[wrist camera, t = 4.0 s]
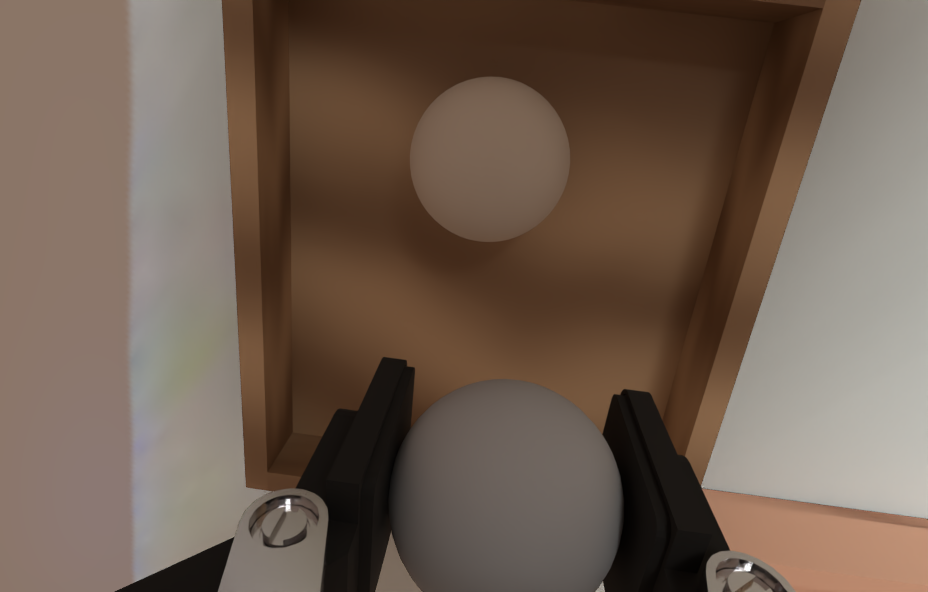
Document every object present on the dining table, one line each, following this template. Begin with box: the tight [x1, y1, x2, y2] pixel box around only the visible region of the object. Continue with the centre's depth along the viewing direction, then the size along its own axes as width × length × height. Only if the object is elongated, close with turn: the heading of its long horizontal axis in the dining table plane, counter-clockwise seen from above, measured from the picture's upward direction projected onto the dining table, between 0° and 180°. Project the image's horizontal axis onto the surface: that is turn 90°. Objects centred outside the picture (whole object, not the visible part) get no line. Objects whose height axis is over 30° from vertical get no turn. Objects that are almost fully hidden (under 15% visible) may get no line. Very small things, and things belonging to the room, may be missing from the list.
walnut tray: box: [222, 0, 861, 491], centre depth 17 cm, size 18×16×3 cm
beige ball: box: [410, 77, 570, 242], centre depth 14 cm, size 4×4×4 cm
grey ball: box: [388, 379, 624, 592], centre depth 10 cm, size 4×4×4 cm
